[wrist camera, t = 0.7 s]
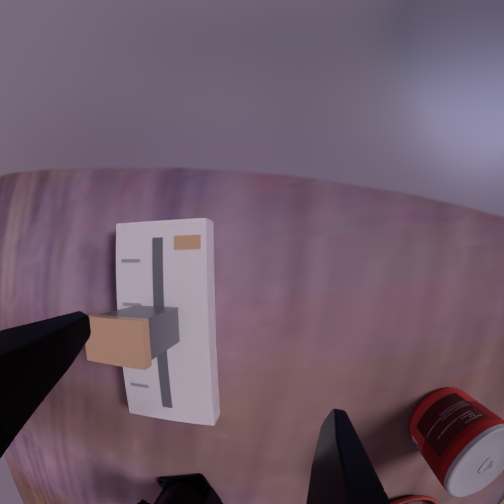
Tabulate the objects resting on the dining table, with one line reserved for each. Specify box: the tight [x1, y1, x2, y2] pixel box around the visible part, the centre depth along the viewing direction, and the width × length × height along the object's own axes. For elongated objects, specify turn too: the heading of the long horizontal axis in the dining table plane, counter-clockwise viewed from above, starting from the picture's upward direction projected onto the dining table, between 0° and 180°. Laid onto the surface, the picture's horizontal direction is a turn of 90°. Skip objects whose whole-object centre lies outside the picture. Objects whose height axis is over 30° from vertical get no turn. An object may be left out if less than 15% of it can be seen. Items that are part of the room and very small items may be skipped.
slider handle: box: [85, 306, 180, 370], centre depth 21 cm, size 3×5×8 cm
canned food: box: [409, 387, 504, 497], centre depth 18 cm, size 8×8×11 cm
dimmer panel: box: [116, 218, 220, 426], centre depth 26 cm, size 19×9×3 cm, turn 1°
